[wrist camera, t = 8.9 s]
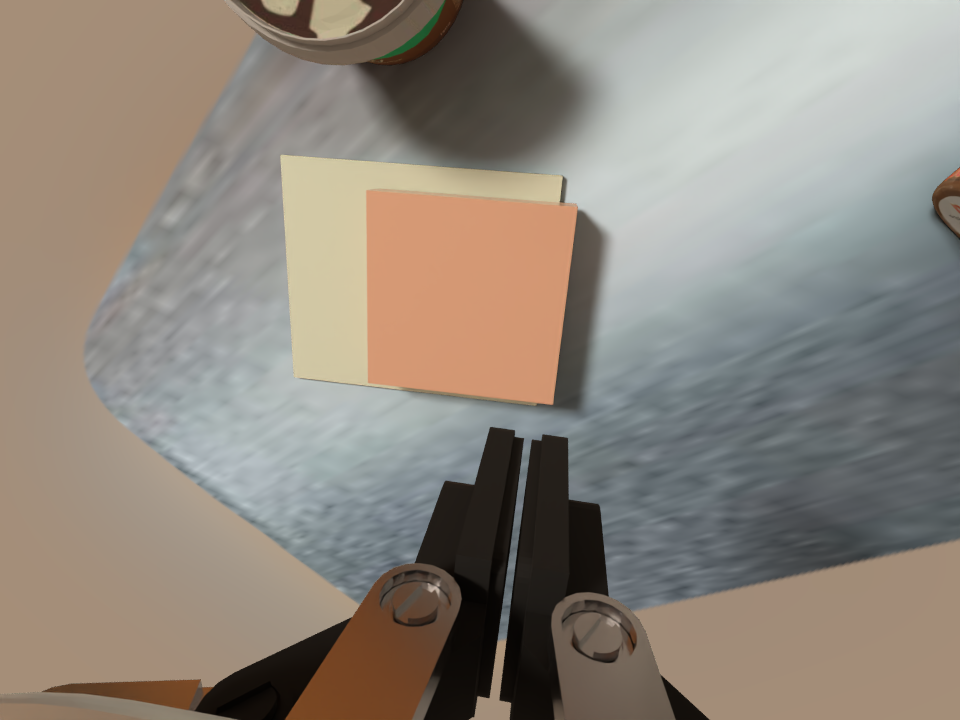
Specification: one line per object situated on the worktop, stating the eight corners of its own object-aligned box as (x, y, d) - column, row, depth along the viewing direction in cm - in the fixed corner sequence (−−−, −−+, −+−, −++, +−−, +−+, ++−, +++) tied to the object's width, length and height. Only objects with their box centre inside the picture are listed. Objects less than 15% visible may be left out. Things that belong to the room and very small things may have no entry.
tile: (577, 207, 29) (366, 190, 31) (552, 404, 34) (367, 383, 35) (576, 203, 32) (381, 188, 33) (553, 387, 36) (381, 367, 37)
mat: (562, 175, 32) (562, 175, 32) (536, 403, 37) (536, 405, 37) (283, 155, 34) (280, 155, 33) (296, 375, 39) (294, 377, 39)
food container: (277, 72, 32) (163, 35, 23) (278, -51, 30) (152, -147, 21) (479, 102, 31) (446, 76, 22) (495, -23, 29) (466, -110, 20)
